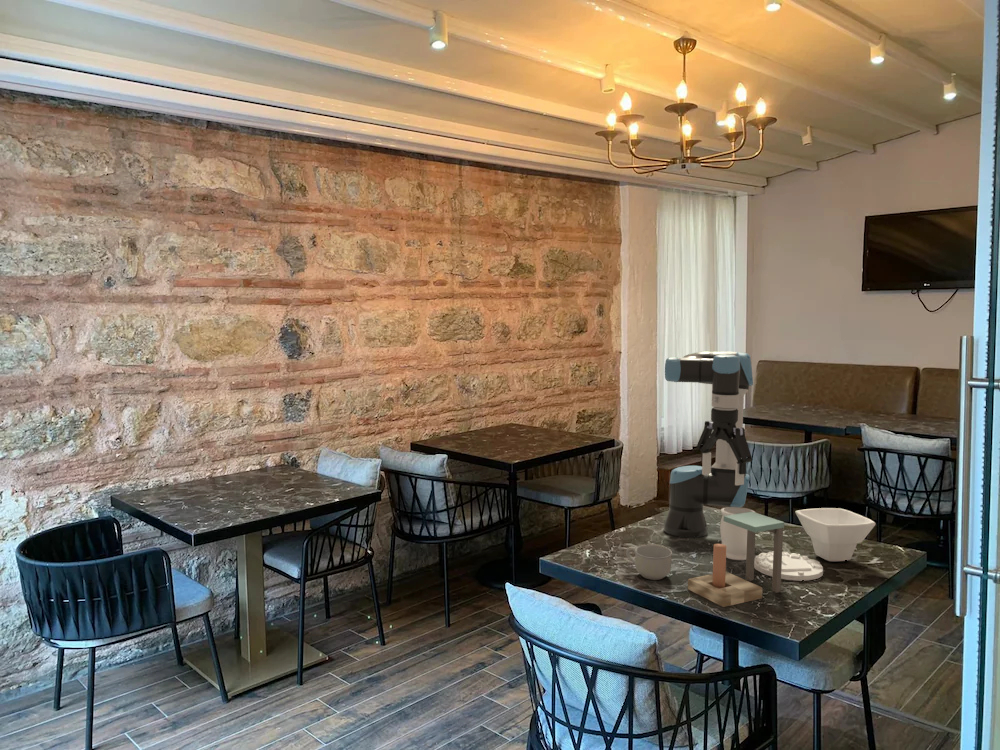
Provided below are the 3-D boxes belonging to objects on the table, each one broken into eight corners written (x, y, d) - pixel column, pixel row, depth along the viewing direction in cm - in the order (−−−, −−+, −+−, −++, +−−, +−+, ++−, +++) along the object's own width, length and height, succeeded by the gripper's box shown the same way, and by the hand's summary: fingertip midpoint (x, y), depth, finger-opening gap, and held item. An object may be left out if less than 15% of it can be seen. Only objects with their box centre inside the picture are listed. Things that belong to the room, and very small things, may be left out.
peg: (709, 593, 205) (711, 544, 204) (718, 591, 206) (720, 543, 205) (718, 598, 202) (719, 548, 201) (727, 595, 203) (729, 546, 202)
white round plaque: (755, 579, 217) (755, 569, 217) (750, 557, 236) (750, 548, 236) (828, 586, 212) (829, 576, 212) (817, 563, 231) (817, 554, 231)
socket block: (687, 589, 208) (688, 578, 208) (725, 581, 214) (725, 571, 214) (723, 607, 196) (723, 596, 195) (762, 598, 202) (762, 587, 202)
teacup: (678, 576, 218) (679, 550, 217) (657, 586, 211) (658, 558, 210) (639, 564, 228) (640, 539, 227) (618, 573, 221) (618, 547, 220)
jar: (719, 560, 233) (721, 513, 231) (719, 550, 243) (720, 505, 241) (755, 563, 230) (756, 516, 229) (753, 553, 240) (754, 507, 238)
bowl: (825, 571, 223) (827, 526, 222) (788, 551, 242) (790, 509, 241) (879, 567, 227) (881, 523, 226) (838, 547, 246) (840, 506, 245)
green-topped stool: (721, 583, 212) (723, 516, 211) (749, 577, 217) (752, 511, 216) (752, 598, 202) (755, 527, 200) (781, 591, 207) (784, 522, 205)
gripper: (685, 403, 224) (684, 471, 226) (747, 415, 202) (744, 491, 204) (704, 401, 227) (702, 468, 230) (767, 413, 205) (764, 487, 208)
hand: (722, 479), depth 217 cm, fingers open, 13 cm apart
